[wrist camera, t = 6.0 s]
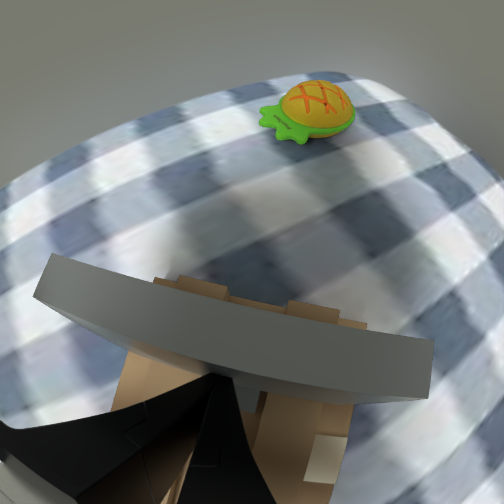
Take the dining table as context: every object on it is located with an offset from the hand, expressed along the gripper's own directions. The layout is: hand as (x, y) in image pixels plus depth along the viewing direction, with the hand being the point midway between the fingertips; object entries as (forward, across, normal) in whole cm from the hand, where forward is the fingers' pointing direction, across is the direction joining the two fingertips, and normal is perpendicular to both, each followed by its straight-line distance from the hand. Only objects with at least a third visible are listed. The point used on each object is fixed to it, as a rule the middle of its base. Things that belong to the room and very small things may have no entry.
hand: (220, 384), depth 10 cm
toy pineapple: (+23, +1, +11) cm, 25 cm away
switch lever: (+5, 0, -4) cm, 7 cm away
